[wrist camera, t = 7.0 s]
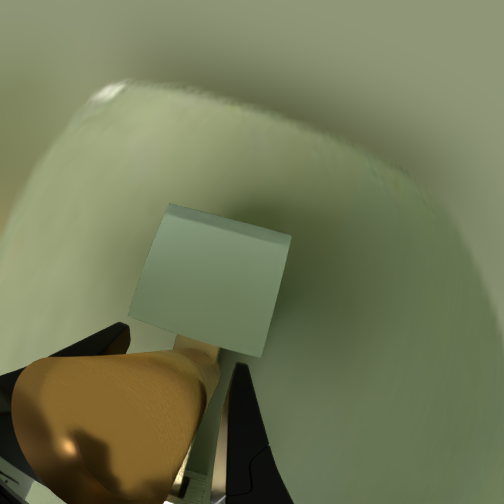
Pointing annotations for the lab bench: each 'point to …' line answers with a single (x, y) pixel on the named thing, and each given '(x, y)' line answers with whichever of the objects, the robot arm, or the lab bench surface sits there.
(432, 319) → the lab bench surface
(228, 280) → the green socket
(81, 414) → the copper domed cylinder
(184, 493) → the aluminium sleeve
